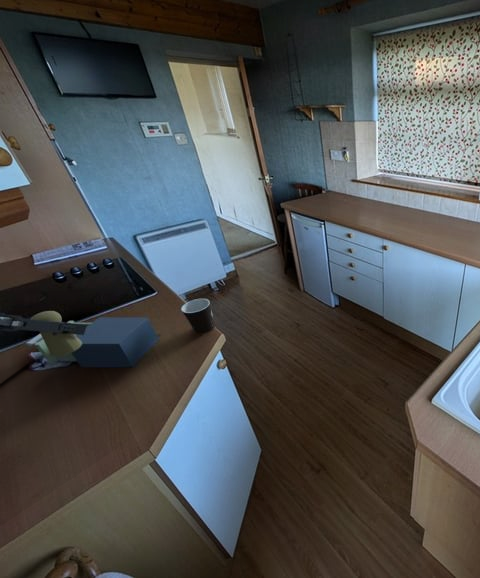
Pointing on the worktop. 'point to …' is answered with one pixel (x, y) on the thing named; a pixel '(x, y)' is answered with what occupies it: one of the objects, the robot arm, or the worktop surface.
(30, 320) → the robot arm
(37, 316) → the cork
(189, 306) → the coffee mug
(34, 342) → the drawer
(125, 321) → the block
